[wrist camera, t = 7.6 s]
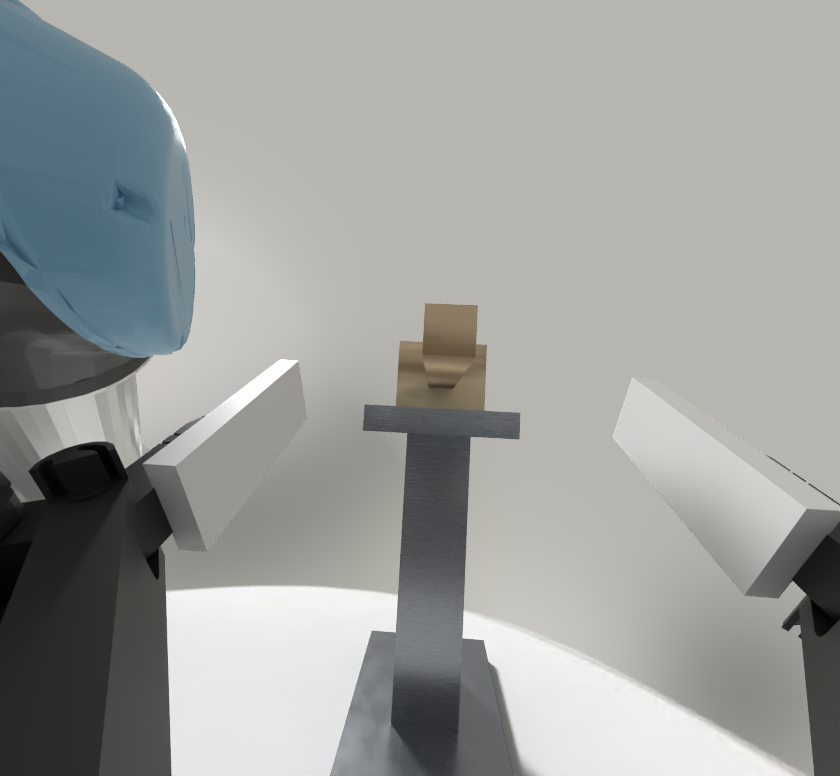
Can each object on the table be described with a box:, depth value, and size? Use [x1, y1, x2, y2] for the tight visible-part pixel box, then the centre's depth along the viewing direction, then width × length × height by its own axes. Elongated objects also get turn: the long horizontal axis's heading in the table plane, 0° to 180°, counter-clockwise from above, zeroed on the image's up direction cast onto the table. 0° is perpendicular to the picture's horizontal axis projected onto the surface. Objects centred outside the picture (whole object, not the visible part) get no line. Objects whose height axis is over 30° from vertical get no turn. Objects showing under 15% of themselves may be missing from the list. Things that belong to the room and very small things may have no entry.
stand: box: [330, 405, 520, 776], centre depth 33 cm, size 18×14×30 cm
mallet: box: [396, 304, 487, 411], centre depth 29 cm, size 28×9×7 cm, turn 178°
